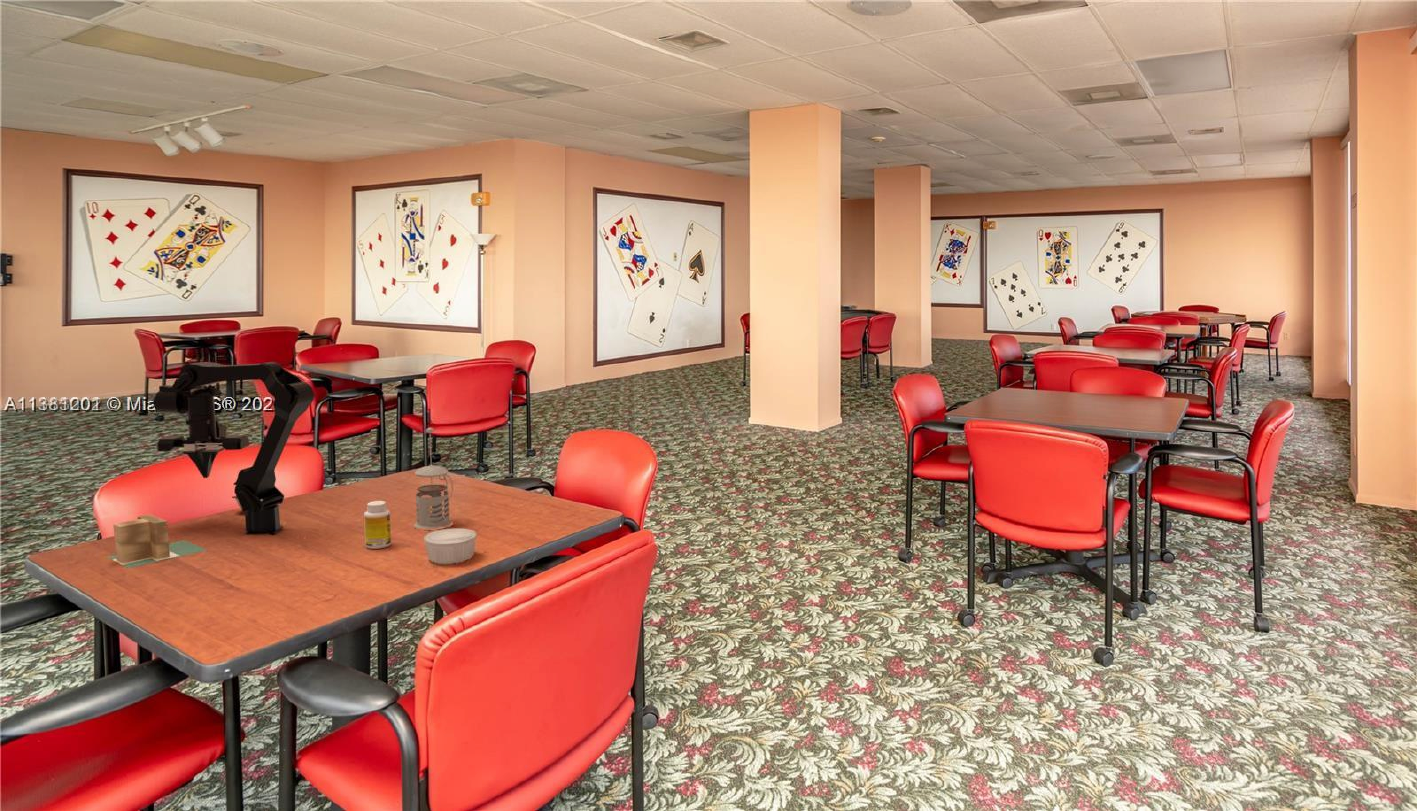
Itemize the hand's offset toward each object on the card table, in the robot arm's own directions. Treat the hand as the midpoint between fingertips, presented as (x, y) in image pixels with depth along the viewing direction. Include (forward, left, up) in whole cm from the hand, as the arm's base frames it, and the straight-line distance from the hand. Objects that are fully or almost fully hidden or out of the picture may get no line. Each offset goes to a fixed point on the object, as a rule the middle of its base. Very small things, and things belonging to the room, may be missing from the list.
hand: (206, 477), depth 204 cm
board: (+2, +20, -13) cm, 24 cm away
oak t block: (+5, +23, -12) cm, 26 cm away
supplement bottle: (-44, +19, -13) cm, 50 cm away
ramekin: (-62, +30, -13) cm, 70 cm away
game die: (-4, -16, -13) cm, 21 cm away
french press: (-54, +2, -13) cm, 56 cm away
